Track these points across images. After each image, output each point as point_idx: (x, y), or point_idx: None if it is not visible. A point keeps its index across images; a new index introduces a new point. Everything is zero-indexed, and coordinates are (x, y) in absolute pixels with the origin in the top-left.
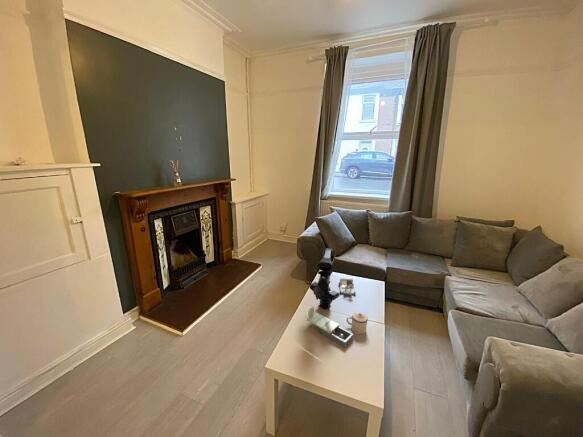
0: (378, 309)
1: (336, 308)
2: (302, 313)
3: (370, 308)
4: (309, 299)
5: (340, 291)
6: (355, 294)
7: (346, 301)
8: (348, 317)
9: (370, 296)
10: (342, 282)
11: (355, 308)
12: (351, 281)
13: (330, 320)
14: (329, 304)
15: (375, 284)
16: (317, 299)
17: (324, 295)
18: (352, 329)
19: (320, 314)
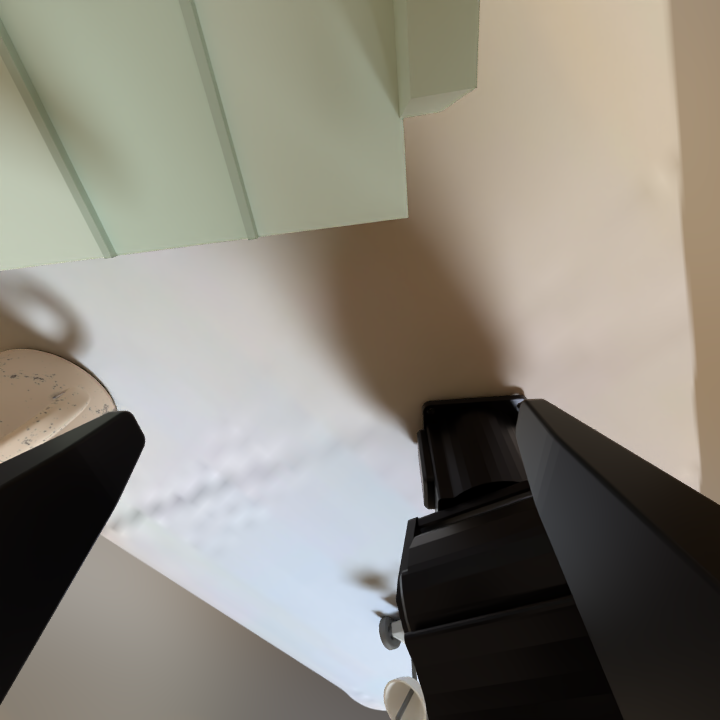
0: (203, 599)
1: (374, 476)
2: (636, 134)
3: (233, 586)
4: (678, 418)
5: None
6: (379, 631)
7: (380, 563)
8: (16, 438)
9: (318, 643)
10: None
11: (284, 546)
12: None
13: (89, 230)
14: (36, 452)
15: (374, 698)
16: (520, 416)
17: (488, 579)
18: (37, 361)
19: (314, 228)
